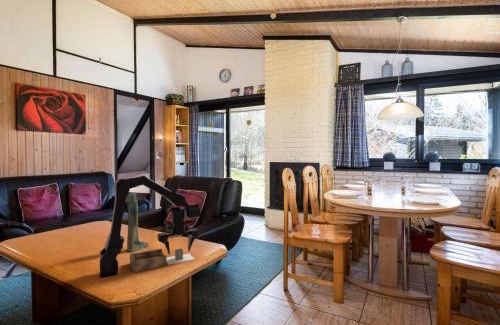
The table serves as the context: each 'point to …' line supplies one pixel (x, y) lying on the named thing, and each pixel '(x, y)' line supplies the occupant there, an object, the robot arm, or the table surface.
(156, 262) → the box
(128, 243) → the statue
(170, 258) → the cover
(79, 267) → the table surface
